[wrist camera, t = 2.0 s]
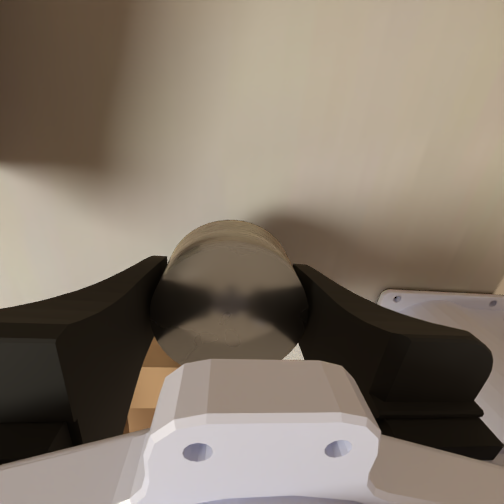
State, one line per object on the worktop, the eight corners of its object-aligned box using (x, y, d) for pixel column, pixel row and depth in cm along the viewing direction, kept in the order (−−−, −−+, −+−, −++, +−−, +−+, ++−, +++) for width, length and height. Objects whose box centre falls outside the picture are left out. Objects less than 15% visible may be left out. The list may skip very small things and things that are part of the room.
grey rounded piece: (284, 205, 15) (322, 253, 9) (270, 292, 17) (294, 377, 11) (180, 196, 14) (145, 241, 8) (180, 288, 16) (152, 376, 10)
